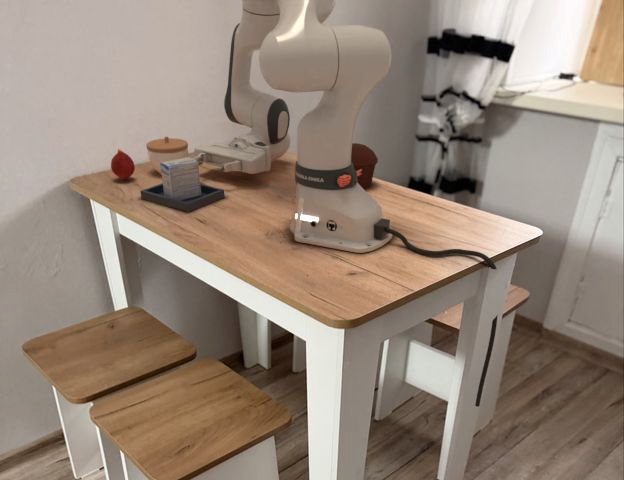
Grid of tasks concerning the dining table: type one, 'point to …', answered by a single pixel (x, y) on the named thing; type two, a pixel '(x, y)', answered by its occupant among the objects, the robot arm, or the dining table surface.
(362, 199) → the robot arm
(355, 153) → the muffin
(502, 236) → the dining table surface
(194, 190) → the medicine box
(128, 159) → the onion
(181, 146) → the trinket box
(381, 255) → the dining table surface
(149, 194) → the tray
